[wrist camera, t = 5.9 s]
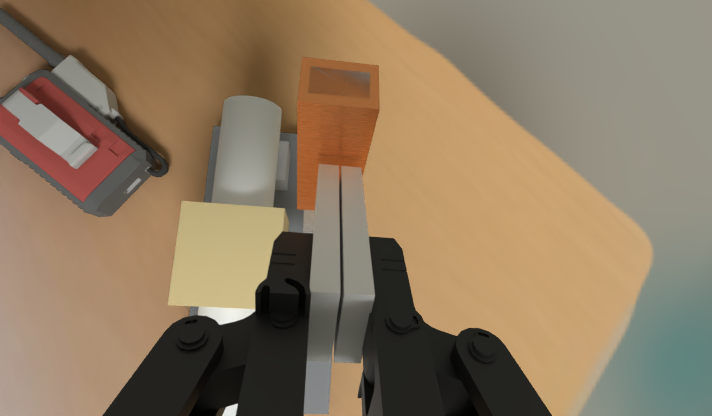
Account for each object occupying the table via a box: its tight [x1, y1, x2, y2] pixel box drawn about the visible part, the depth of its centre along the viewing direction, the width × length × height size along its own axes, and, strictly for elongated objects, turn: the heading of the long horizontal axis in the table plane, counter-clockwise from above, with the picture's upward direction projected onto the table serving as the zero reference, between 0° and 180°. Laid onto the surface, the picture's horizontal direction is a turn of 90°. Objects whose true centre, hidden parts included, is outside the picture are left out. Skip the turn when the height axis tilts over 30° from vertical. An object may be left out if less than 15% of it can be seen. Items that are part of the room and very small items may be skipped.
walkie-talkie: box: [0, 8, 169, 217], centre depth 32 cm, size 9×4×20 cm
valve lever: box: [297, 57, 380, 233], centre depth 21 cm, size 3×3×17 cm
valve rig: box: [168, 95, 332, 416], centre depth 29 cm, size 22×11×10 cm, turn 177°
